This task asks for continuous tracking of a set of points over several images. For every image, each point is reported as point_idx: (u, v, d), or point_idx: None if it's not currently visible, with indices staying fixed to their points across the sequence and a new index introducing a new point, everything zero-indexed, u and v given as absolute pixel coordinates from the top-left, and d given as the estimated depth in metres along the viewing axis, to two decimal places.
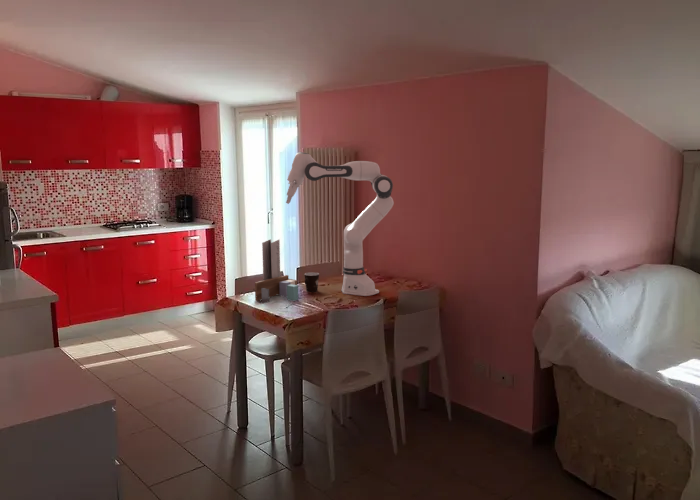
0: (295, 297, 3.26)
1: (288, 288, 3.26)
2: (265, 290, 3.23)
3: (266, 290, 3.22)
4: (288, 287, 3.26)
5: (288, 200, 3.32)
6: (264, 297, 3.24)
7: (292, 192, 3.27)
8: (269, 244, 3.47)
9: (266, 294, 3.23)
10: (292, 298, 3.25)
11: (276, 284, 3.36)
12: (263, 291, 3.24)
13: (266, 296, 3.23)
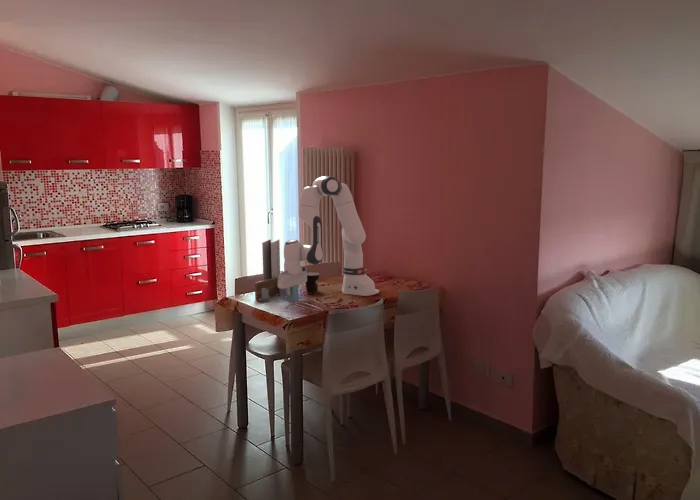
0: (295, 297, 3.26)
1: None
2: (265, 290, 3.23)
3: (266, 290, 3.22)
4: None
5: (288, 291, 3.24)
6: (264, 297, 3.24)
7: (280, 284, 3.18)
8: (269, 244, 3.47)
9: (266, 294, 3.23)
10: (292, 298, 3.25)
11: (276, 284, 3.36)
12: (263, 291, 3.24)
13: (266, 296, 3.23)
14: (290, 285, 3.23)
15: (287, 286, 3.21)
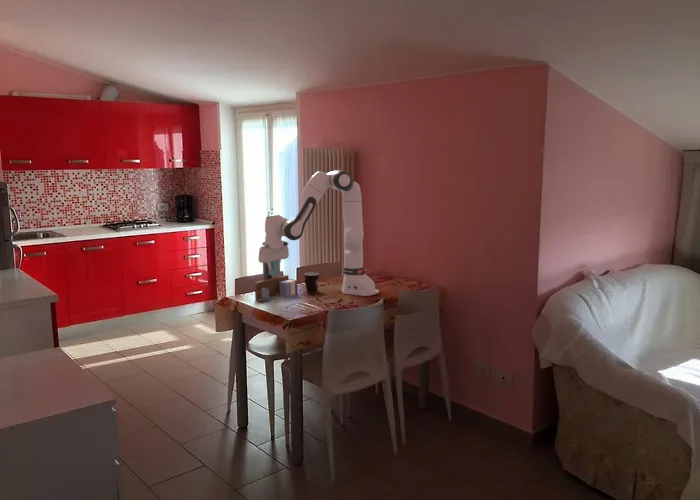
0: (276, 271, 3.26)
1: None
2: (265, 290, 3.23)
3: (266, 290, 3.22)
4: None
5: (269, 266, 3.24)
6: (264, 297, 3.24)
7: (261, 258, 3.18)
8: None
9: (266, 294, 3.23)
10: (273, 272, 3.25)
11: (276, 284, 3.36)
12: (263, 291, 3.24)
13: (266, 296, 3.23)
14: (271, 259, 3.23)
15: (268, 260, 3.21)
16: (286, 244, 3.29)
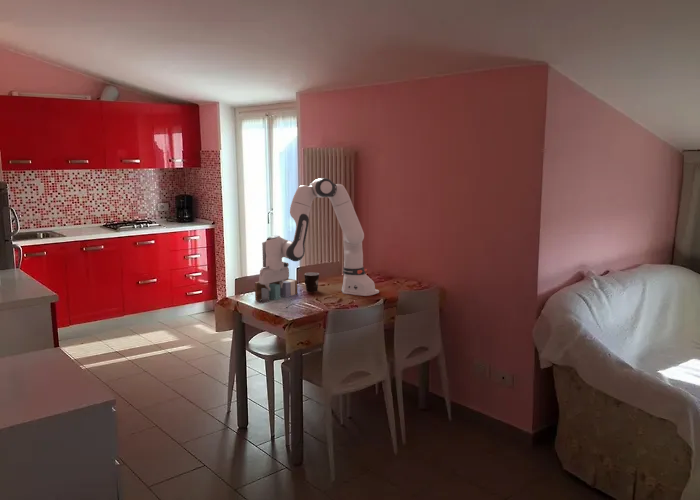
0: (277, 296, 3.28)
1: (270, 287, 3.29)
2: (265, 290, 3.23)
3: (266, 290, 3.22)
4: (270, 286, 3.29)
5: (267, 288, 3.25)
6: (264, 297, 3.24)
7: (262, 280, 3.20)
8: None
9: (266, 294, 3.23)
10: (274, 297, 3.28)
11: None
12: (263, 291, 3.24)
13: (266, 296, 3.23)
14: (272, 281, 3.25)
15: (269, 282, 3.23)
16: (286, 265, 3.31)
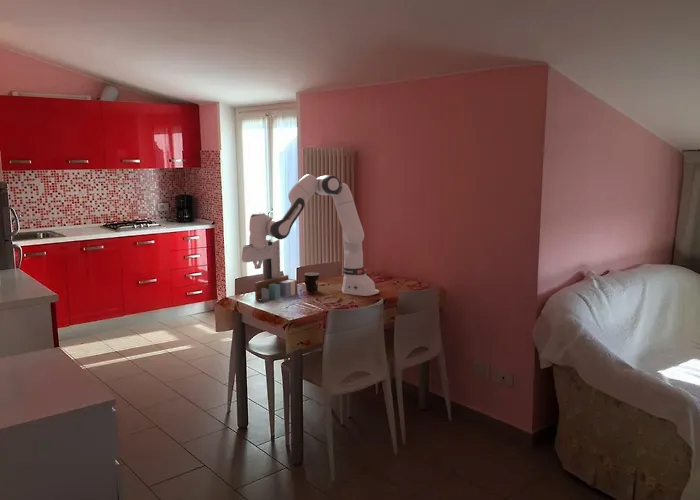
0: (277, 296, 3.28)
1: (270, 287, 3.29)
2: (265, 290, 3.23)
3: (266, 290, 3.22)
4: (270, 286, 3.29)
5: (255, 265, 3.17)
6: (264, 297, 3.24)
7: (244, 257, 3.09)
8: None
9: (266, 294, 3.23)
10: (274, 297, 3.28)
11: None
12: (263, 291, 3.24)
13: (266, 296, 3.23)
14: (255, 259, 3.14)
15: (251, 260, 3.12)
16: (271, 244, 3.20)
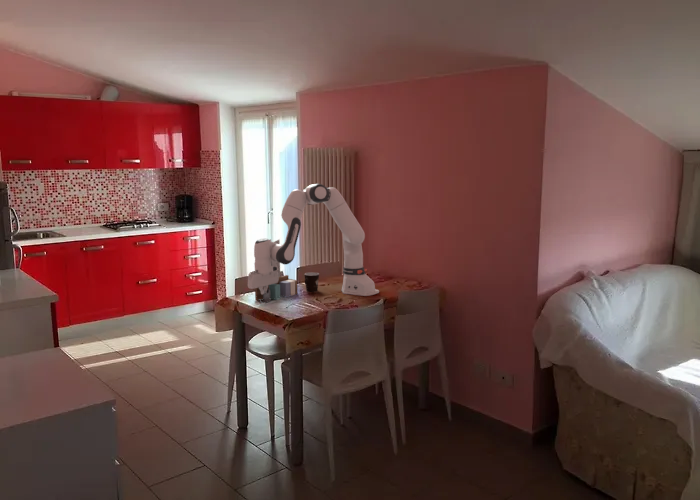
0: (277, 296, 3.28)
1: (270, 287, 3.29)
2: None
3: (267, 290, 3.23)
4: (270, 286, 3.29)
5: (261, 291, 3.21)
6: (265, 297, 3.25)
7: (250, 284, 3.13)
8: None
9: (267, 293, 3.23)
10: (274, 297, 3.28)
11: None
12: None
13: (267, 296, 3.24)
14: (261, 285, 3.18)
15: (257, 286, 3.16)
16: (276, 269, 3.24)
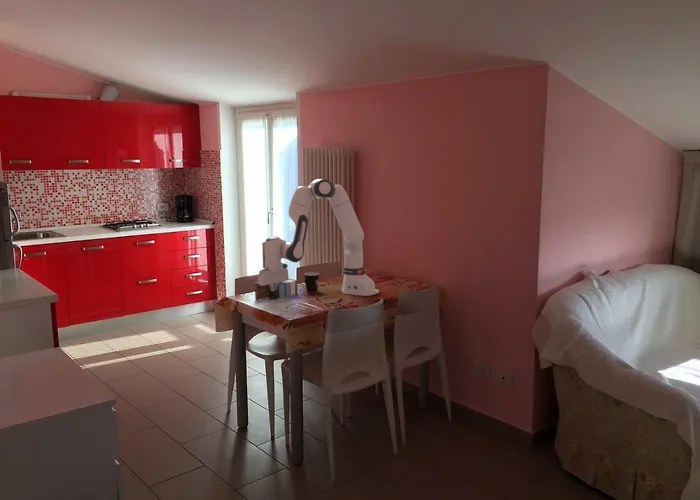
0: (281, 295, 3.31)
1: None
2: None
3: (277, 287, 3.29)
4: None
5: (271, 288, 3.27)
6: (275, 294, 3.31)
7: (261, 281, 3.19)
8: None
9: (277, 291, 3.29)
10: None
11: None
12: None
13: (277, 293, 3.30)
14: (271, 282, 3.24)
15: (268, 283, 3.22)
16: (286, 266, 3.30)
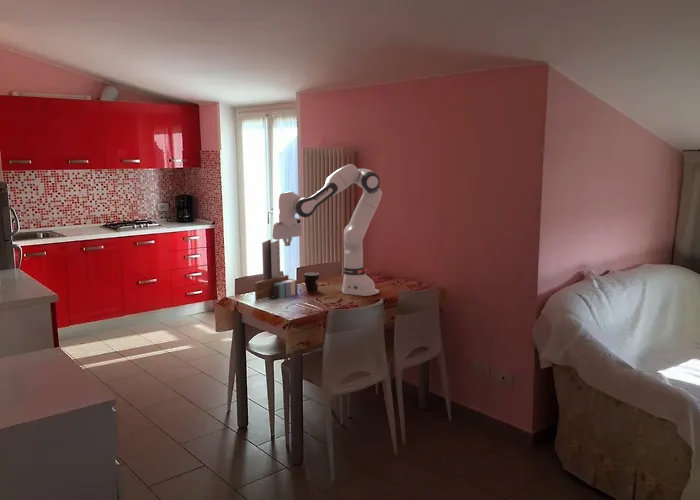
0: (281, 295, 3.31)
1: None
2: (276, 288, 3.30)
3: (277, 287, 3.29)
4: None
5: (285, 242, 3.27)
6: (275, 294, 3.31)
7: (275, 235, 3.20)
8: (269, 244, 3.47)
9: (277, 291, 3.29)
10: None
11: None
12: (274, 288, 3.31)
13: (277, 293, 3.30)
14: (285, 236, 3.24)
15: (282, 237, 3.23)
16: (299, 221, 3.30)
